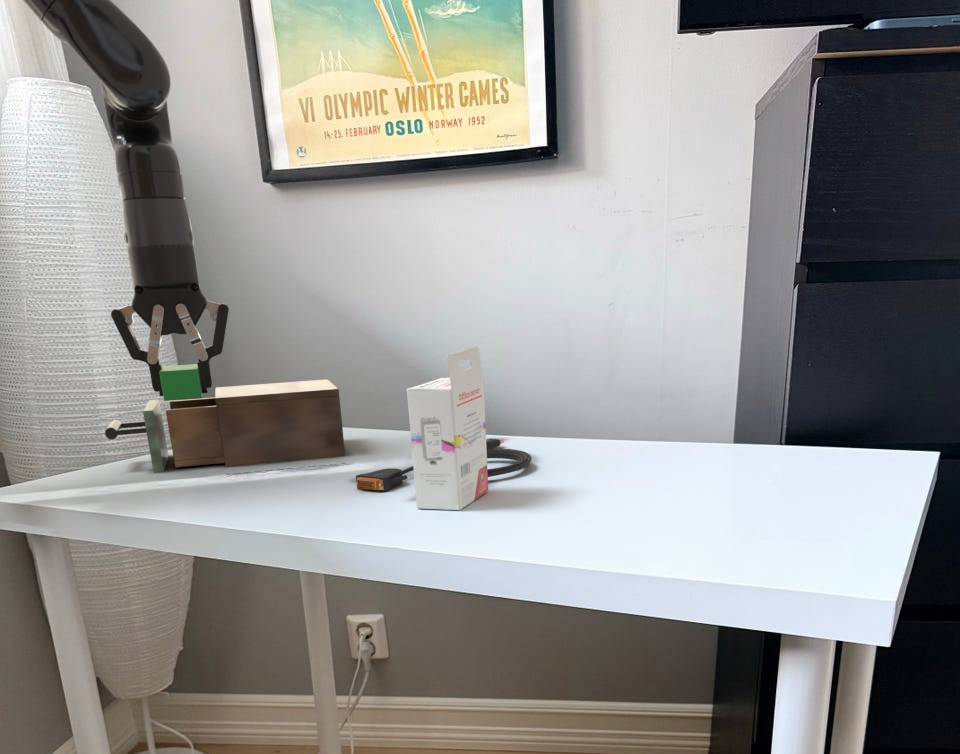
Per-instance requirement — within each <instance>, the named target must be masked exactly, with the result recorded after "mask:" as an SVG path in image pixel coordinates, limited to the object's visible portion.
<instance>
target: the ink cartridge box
mask: <svg viewBox="0 0 960 754" xmlns="http://www.w3.org/2000/svg"><path fill="white" fill-rule="evenodd" d="M480 353H481V352H480V348H479V347H478V346H477V345H476V346H474V347H471V348H470V347H468V348H464V349H461V350H457V351H454V352H450V353H448V354H447V355H446V362H447V367H448V375H449V377H440V378H437V379H434V380H431V381H427V382H424V383H422V384H418V385H415V386H412V387H408V388H406V396H407V397H406V399H407V410H408V416H409V417H408V420H409V421H408V422H409V433H410V443H411V454H412V466H413V467H414V470H413V478H414V490H415V500H416V509H425V510H445V511H446V510H447V511H461V510H462V509H464V508H466V507H467V506H468V505H470V504H471V503H472V502H474V501H476V500H477V499H479V498H480V497H482V496H483V495H484V494H486V493H487V492H488V491H489V479H488V478H489V477H488V472H487V469H488V458H487V448H486V439H487V429H486V409H485V386H484V384H485V383H484V377H483V376H484V375H483V369H482V362H481V361H482V360H481V354H480ZM464 361H465V362H466V363H467V362H468V363H469V367H467V368H464V369H461V364H463V363H464Z"/></svg>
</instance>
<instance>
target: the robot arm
mask: <svg viewBox="0 0 960 754" xmlns="http://www.w3.org/2000/svg"><path fill="white" fill-rule="evenodd" d="M22 1H23V2H24V3H25V4H26V6H27V7H28V8H29V9H30V10H31V11H32V13H33V14H34V15H35V16H36V17H37V18H38V20H39V21H40V22H42V24H43V25H44V26H45V27H46V29H47V30H49V32H50V33H52V35H53V36H54V37H56V38H57V40H59V41H61V42H62V43H64V44H66V45H69V46H70V48H71V49H72V50H73V51H74V52H75V53H76V55H77V56H79V58H80V59H81V60H82V62H84V63H85V65H86V66H87V67H88V68H89V70H91V72H92V73H93V74H94V75H95V76H96V78H97V79H98V80H99V83H100V91H101V96H102V100H103V106H104V110H105V115H106V119H107V123H108V127H109V130H110V131H109V132H110V136H111V139H112V144H113V148H114V157H115V158H114V159H115V171H116V177H117V182H118V188H119V189H118V190H119V194H120V200H121V208H122V210H121V211H122V212H121V213H122V225H123V226H122V227H123V232H124V233H123V238H124V239H123V240H124V243H125V245H126V250H127V255H128V263H129V268H130V274H131V280H132V286H133V293H134V294H133V298H132V300H131V304H128V305H125V306H123V307H121V308H114V309H112V311H111V312H110V317H111V319H112V321H113V323H114V325H115V327H116V329H117V331H118V333H119V335H120V338H121V339H122V341H123V343H124V346H125V348H126V350H127V351H128V354H129V355H130V357H131V359H132V360H134V361H141V362H143V363H146V364H147V365H148V367H149V374H150V380H151V386H152V387H151V388H152V389H153V391H154V392H155V393H157V392H158V394H159V397H163V391H162V385H161V379H160V373H159V372H160V370H161V369H162V367H163V364H162V363H161V362H160V354H161V346H162V339H163V336H169V335H172V334H177V335H187V337H188V339H189V342H190V343H191V346H192V349H193V350H194V352H195V354H196V356H197V361H196V364H197V365H198V368H199V375H200V381H201V388H202V393H203V394H208V393H209V391H208V389H211V388H212V385H213V380H212V372H211V371H212V370H211V366H210V365H211V364H210V361H211V359H212V358H214V357H216V356H219V355H221V354H222V353H223V350H224V349H223V348H224V343H225V337H226V329H227V324H228V323H227V322H228V318H229V311H230V309H229V305H227V304H226V303H218V302H214V301H210V300H207V298H206V297H205V295H204V293H203V292H202V290H201V283H200V276H199V270H198V263H197V256H196V249H195V241H194V233H193V228H192V222H191V218H190V214H189V210H188V207H187V201H186V197H185V196H186V195H185V189H184V181H183V175H182V169H181V164H180V158H179V156H178V152H177V150H176V149H175V148H174V146H173V140H172V138H173V137H172V131H171V124H170V116H169V108H168V98H169V96H170V92H171V86H172V81H171V80H172V79H171V74H170V73H171V72H170V70H169V67H168V65H167V63H166V60H165V59H164V57H163V56H162V54H161V52H160V51H159V50H158V48H157V47H156V46H155V44H154V43H153V42H152V41H151V39H149V37H148V36H147V35H146V34H145V32H143V31H142V30H141V29H140V28H139V26H137V24H136V23H134V21H133V20H132V19H131V18H130V17H129V16H128V15H127V14H126V13H124V12H123V10H121V8H119V6H118V5H116V4H115V2H113V1H112V0H22ZM205 310H207V311H208V312H209V316H210V320H212V321H214V322H215V327H214V333H213V339H212V344H211V345H209V346H207V347H206V346H205V344H204V342H203V339H202V337H201V334H200V332H199V330H198V328H197V325H198V323H199V321H200V320H201V317H202V316H203V313H204V312H205ZM135 313H136V314H137V316H138V317H139V318H140V319H141V320H142V321H143V322H144V323H145V324H146V326H148V327H149V329H150V331H149V339H148V348H147V350H145V349H141V346H140V344H139V341H138V340H137V338H136V336H135V333H134V332H133V329H132V327H131V326H132V325H133V324H134V322H135V321H134V315H135Z"/></svg>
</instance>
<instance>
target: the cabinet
mask: <svg viewBox="0 0 960 754" xmlns="http://www.w3.org/2000/svg"><path fill="white" fill-rule="evenodd" d="M214 393H215V394H214V395H215V396H214V397H215V400H216V407H217V413H218V420H219V427H220V434H221V441H222V447H223V454H224V461H225V463H224V467H225V468H232V467H233V468H234V467H241V466H254V465H255V466H256V465H265V464H275V463H276V464H277V463H286V462H297V461H308V460H309V461H310V460H319V459H329V458H331V459H332V458H339V457H340V458H341V457H346V449H345V439H344V428H343V419H342V417H343V416H342V408H341V397H340V389H339V388H338V387H337V386H336V385H334V383H333V382H332V381H330V380H329V379H314V380H313V379H312V380H300V381H299V380H298V381H285V382H273V383H260V384H259V383H258V384H245V385H233V386H231V385H230V386H221V387H220V386H217V387H215V392H214ZM343 464H347V463H346V462H344V463H343V462H342V463H341V465H343ZM333 465H334V466H335V465H336V463H332V464H330V466H333ZM324 466H325V464H322V465H320V467H324ZM312 467H315V465H310V466H309V468H312ZM301 468H303V469H304V467H303V466H300V467H298V469H301ZM290 469H293V467H289V468H288V470H290ZM280 470H283V468H280V469H277V471H280ZM268 471H270V472H271V471H272V469H268V470H266V472H268ZM260 472H261V470H259V471H258V470H257V471H256V473H260ZM248 473H249V474H250V473H251V471H247V472H245V474H248ZM236 474H240V472H239V473H238V472H235V473H234V475H236ZM226 475H229V473H226Z"/></svg>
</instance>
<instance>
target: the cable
mask: <svg viewBox="0 0 960 754" xmlns="http://www.w3.org/2000/svg"><path fill="white" fill-rule="evenodd" d="M504 443H505V441H504V439H501V438H486V448H487V459H503V460H513V461H516V463H513V464H510V465H505V466H500V467H494V468H487V472H488V478H491V477H496V476H501V475H506V474H511V473H514V472H519V471H520V470H522V469H524V468H526V467H527V466H528V465H530V464H531V462H532V456H531V454H529V453H528V452H526V451H523V450H519V449H514V448H513V449H512V448H497V447H500V446H501V445H502V444H504ZM413 471H414V467H413V465H412V466H410V467H408V468H405V469H403V470H402V468H395V467H393V468H391V467H390V468H389V467H388V468H383V469H378V470H374V471H370V472H365V473H360V474H356V475H355V481H356V482H355V484H356V489H357V490H366V491H372V492H383V493H384V492H385V493H386V492H388V491H390V490H392V489H394V488H396V487H398V486H401V485H402V484H404V483H403V481H406V480H408V476H407V475H406V474H407V473H410V472H413Z"/></svg>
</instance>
